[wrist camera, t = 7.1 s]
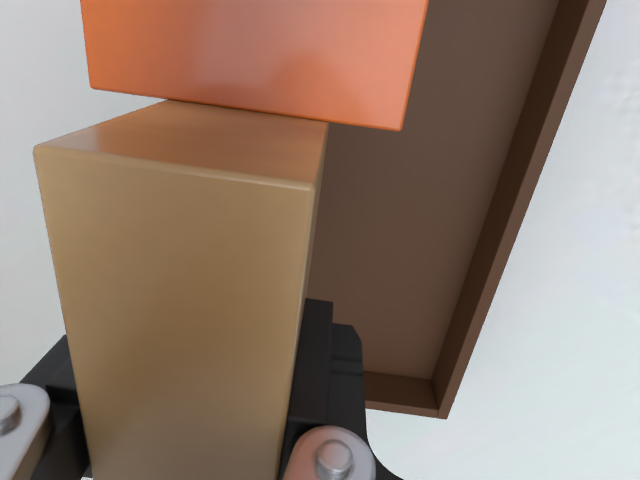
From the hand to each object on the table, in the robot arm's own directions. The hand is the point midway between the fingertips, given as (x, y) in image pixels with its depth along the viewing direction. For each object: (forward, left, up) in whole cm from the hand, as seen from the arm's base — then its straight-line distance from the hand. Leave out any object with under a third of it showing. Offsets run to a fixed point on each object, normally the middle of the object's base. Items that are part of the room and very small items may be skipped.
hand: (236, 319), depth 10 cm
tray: (+5, -1, -17) cm, 18 cm away
